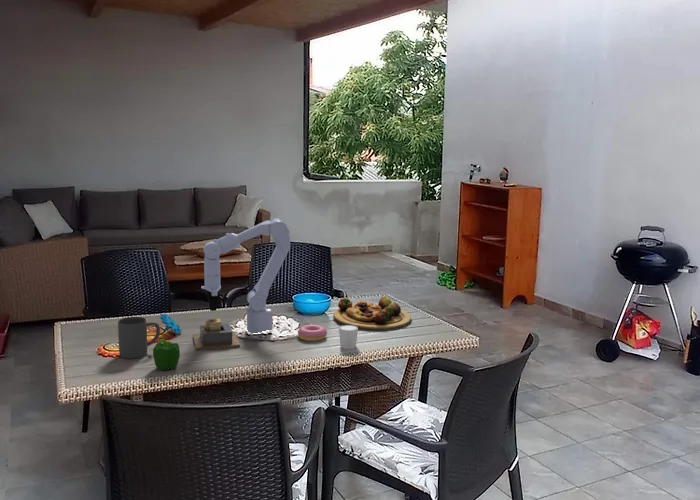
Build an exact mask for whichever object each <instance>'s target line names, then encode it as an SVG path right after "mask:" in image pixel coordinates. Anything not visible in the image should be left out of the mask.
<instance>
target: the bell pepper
mask: <svg viewBox="0 0 700 500" xmlns="http://www.w3.org/2000/svg"><path fill="white" fill-rule="evenodd" d="M180 351H181V350H180V345H179V344H178V343H177V342H171V341H169V340H166V339H164V338H162V339H161V338H160V339H159V340H158V341H157V343H156V344H155V346H154V347H153V349H152V357H153V360H154V365H155V367H156V368H157V370H159V371H168V370H173V369H175V368H176V367H177V366H178V365H179V360H180V354H181V353H180Z"/></svg>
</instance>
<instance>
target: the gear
mask: <svg viewBox="0 0 700 500" xmlns="http://www.w3.org/2000/svg"><path fill="white" fill-rule="evenodd" d="M159 319H160V320H161V323H162V324H164V325H165V328H163V330H161V331H165V332H167V331H168V330H170V332H171V333H173V332H174V334H175V335H181V334H182V328H181V327H180V325H179V324H177V320H176V319H175V318H173V320H172V317H171V316H170V315H169V316H168V315H167V314H166V313H161V314H160V317H159Z"/></svg>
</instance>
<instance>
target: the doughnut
mask: <svg viewBox="0 0 700 500" xmlns="http://www.w3.org/2000/svg"><path fill="white" fill-rule="evenodd" d="M327 334H328V331H327V328H325V326H323V325H318V324H306V325H303V326H300V327H299V329H298V330H297V336H298V338H299V339H301V340H303V341H305V342H306V341H307V342H318V341H323V340H324V339H325V338H326V336H327Z"/></svg>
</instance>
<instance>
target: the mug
mask: <svg viewBox="0 0 700 500" xmlns="http://www.w3.org/2000/svg"><path fill="white" fill-rule="evenodd" d="M150 326H155V328H156V329H155V330H156V334H155V336H154V337H153V338H152V339H151V340H149V341H148V329H147V327H150ZM160 328H161V327H160V325H159V324H158V323H157V322H147V318H145V317H141V316H129V317H124V318H121V319H119V320H118V322H117V331H118V332H117V336H118V351H119V352H118V353H119V357H120V358H122V359H127V360H134V359H135V360H136V359H140V358H143V357H146V356H147V355H148V346H149V347H150V346H151V345H153V344H154V343H155V342H156V341H157V340H158V339H159V337H160V334H161V329H160Z"/></svg>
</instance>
